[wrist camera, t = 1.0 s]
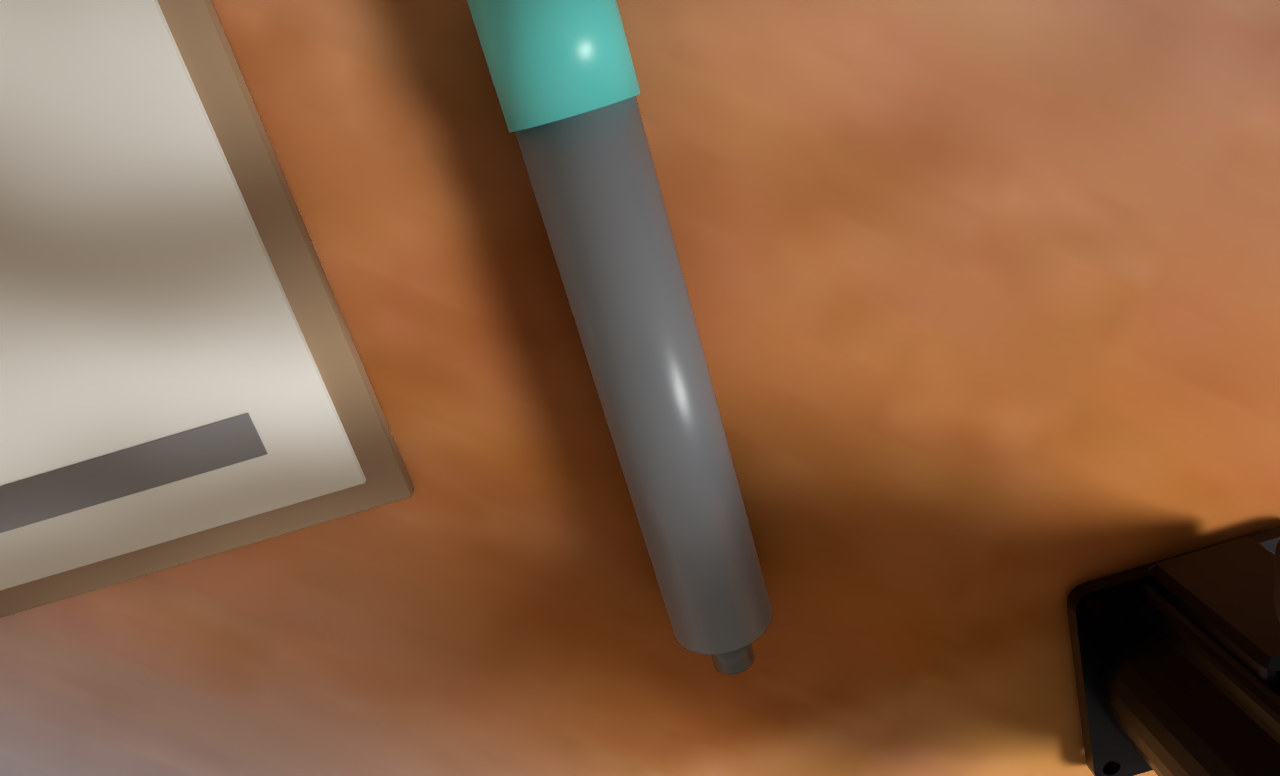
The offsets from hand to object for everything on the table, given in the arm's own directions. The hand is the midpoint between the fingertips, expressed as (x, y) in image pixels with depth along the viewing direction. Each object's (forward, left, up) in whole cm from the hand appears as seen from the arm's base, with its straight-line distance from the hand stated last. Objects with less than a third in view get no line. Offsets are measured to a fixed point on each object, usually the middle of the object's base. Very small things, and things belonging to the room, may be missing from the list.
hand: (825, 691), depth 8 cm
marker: (-1, +1, -12) cm, 12 cm away
